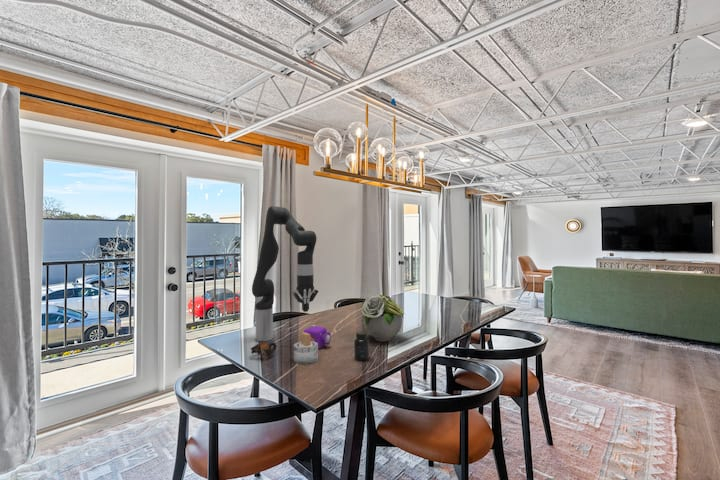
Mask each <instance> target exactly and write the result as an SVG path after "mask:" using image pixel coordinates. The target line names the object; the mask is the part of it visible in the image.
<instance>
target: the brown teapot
mask: <svg viewBox="0 0 720 480" xmlns="http://www.w3.org/2000/svg"><path fill="white" fill-rule="evenodd" d="M272 346H273V347H272ZM277 347H278V346H277V343H276V342H270V343H267V341H261V342H259V343H258V344H256V345H253V346H252V347H251V348H250V350H251V352H250V353H251V354H252V355H253V354H258V355H261V354H262V351H263V352H264V353H265V354H264V355H262V356H261V357H262V360H263V361H266V360H268V359H271V358H272V357H273V353H274V352H276V350H277Z"/></svg>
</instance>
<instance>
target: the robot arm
mask: <svg viewBox="0 0 720 480" xmlns="http://www.w3.org/2000/svg"><path fill="white" fill-rule="evenodd" d="M274 225H280V226H281V225H284V226H285V231H286V233H288V234H289V236H290V237H291V238H292V240H293V243H294V245H296V246H298V247H305V248H304V250H301V251H299V252H297V260H296V261H297V264H296V265H297V266H296V284H297V285H296V286H297V287H296V290H294V291H292V293H291V295H292V296H293V297H294V299H295V300H296V302H298V303H301V310H302V311H303V312H306V313H307V312H309V310H310V303H311V302H313V301H314V299H315V298H316V296H317V295H318V293H319V290H317V289H316V288H315V286H314V251H315V247H316V243H317V239H318V238H317V234H316V233H315V231H313V230H305V228H304V226H302V224H301V223H299V222H297V220H296V219H295V217H294V216H293V215H292V213H291V211H290V210H289V209H287V208H286V207H282V206H274V205H271V206H269V207H268V209H267V211H266V215H265V225H264V232H263V237H262V243H261V247H260V251H259V252H260V253H259V257H258V258H259V259H258V263H257V268H256V272H255V273H254V278H253V280H252V285H251V293H252V295H253V296H254V297H255V298H261V297H262V298H261V299H260V300H259V301H258V302H256V303H255V305H254V306H255V340H256V341H257V342H264V341H265V342H268V341H271V340H273V339H274V315H273V314H274V313H273V312H274V309H273V308H274V306H273V305H274V303H275V300H274V299H275V284H274V282H273V280H272V279H269V278H267V279H266V276H267V274H268V272H269V271H270V270H271V268H272V267H273V266H274V265H275V263H276V261H277V259H278V255H279V251H280V247H279V243H278V242H277V239H276V237H275V234H274V227H275V226H274Z"/></svg>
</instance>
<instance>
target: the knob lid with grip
mask: <svg viewBox="0 0 720 480" xmlns="http://www.w3.org/2000/svg"><path fill="white" fill-rule="evenodd" d="M300 342H301V343H300V344H299V347H311V346H313V344H312V343H311V334H309V333H306V332H304V331H303V332H301V333H300Z"/></svg>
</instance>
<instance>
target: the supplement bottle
mask: <svg viewBox="0 0 720 480" xmlns="http://www.w3.org/2000/svg"><path fill="white" fill-rule="evenodd" d="M355 334H356V336H355V337H356V338H354V341H353V344H354V345H353V346H354V351H353V352H354V359H355V360H356V361H359V362H365V361H368V360H369V359H370V340H369V339H368V336H367V335H368V332H367V331H357V332H356V333H355Z"/></svg>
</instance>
